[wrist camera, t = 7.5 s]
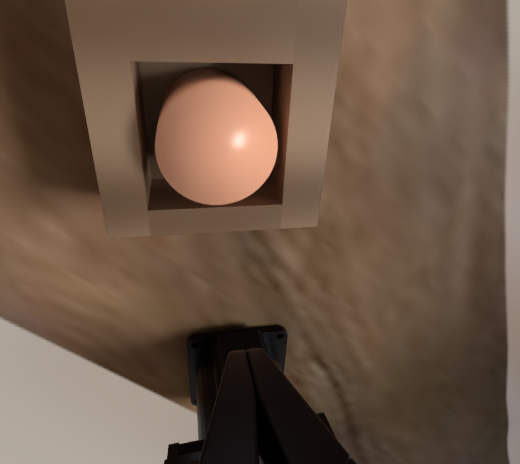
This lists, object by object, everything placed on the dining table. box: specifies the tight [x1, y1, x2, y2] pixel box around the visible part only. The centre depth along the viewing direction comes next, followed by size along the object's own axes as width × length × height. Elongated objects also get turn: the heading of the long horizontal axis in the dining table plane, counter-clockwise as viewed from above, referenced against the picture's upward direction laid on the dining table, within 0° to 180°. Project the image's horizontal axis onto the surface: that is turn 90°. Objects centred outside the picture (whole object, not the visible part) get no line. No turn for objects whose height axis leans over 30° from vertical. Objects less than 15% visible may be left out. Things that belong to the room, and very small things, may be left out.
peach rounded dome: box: [155, 68, 278, 205], centre depth 16 cm, size 4×4×4 cm
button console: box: [64, 0, 347, 238], centre depth 15 cm, size 16×9×4 cm, turn 178°
